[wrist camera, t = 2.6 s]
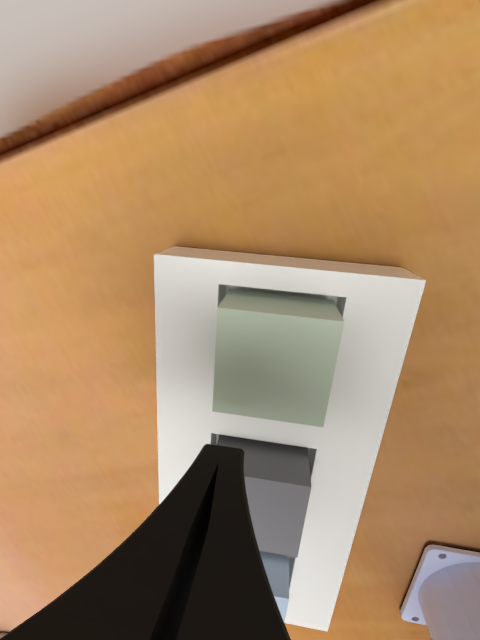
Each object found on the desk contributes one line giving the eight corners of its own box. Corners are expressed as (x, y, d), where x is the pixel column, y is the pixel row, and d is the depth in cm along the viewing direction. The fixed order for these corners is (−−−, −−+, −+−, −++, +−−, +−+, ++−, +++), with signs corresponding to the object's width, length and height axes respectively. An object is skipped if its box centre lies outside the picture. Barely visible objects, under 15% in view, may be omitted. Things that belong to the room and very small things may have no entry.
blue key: (288, 546, 21) (289, 599, 18) (279, 594, 23) (279, 649, 20) (214, 533, 22) (203, 582, 19) (211, 581, 23) (201, 632, 20)
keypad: (402, 267, 16) (425, 280, 14) (322, 583, 25) (327, 631, 22) (174, 246, 18) (153, 254, 15) (174, 555, 26) (161, 597, 23)
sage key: (333, 300, 15) (344, 321, 12) (316, 390, 17) (323, 427, 14) (229, 289, 16) (217, 307, 13) (223, 378, 17) (212, 411, 15)
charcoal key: (307, 443, 18) (311, 487, 15) (295, 508, 20) (297, 557, 17) (220, 430, 19) (209, 470, 16) (216, 494, 20) (205, 540, 18)
